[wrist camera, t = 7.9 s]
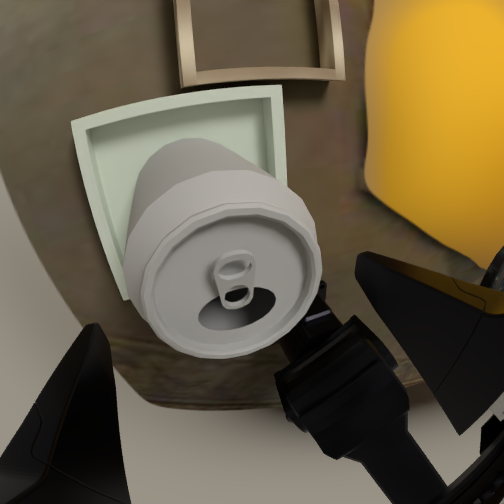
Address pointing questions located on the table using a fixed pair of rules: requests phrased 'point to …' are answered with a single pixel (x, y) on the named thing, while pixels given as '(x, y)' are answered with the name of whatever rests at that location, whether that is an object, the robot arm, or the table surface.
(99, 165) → the tray
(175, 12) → the holder
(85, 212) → the table surface
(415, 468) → the robot arm
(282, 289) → the can
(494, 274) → the beer stein
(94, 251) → the table surface
